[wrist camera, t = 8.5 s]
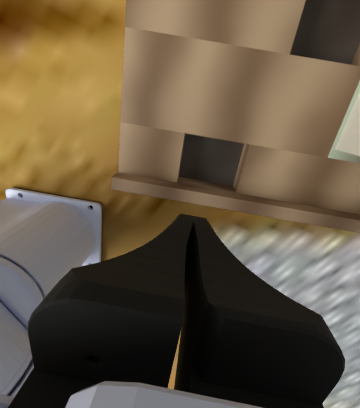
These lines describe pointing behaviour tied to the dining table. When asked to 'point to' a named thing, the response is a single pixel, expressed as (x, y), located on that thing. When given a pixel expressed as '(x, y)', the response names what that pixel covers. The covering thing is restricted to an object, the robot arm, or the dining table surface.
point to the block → (351, 132)
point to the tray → (242, 106)
